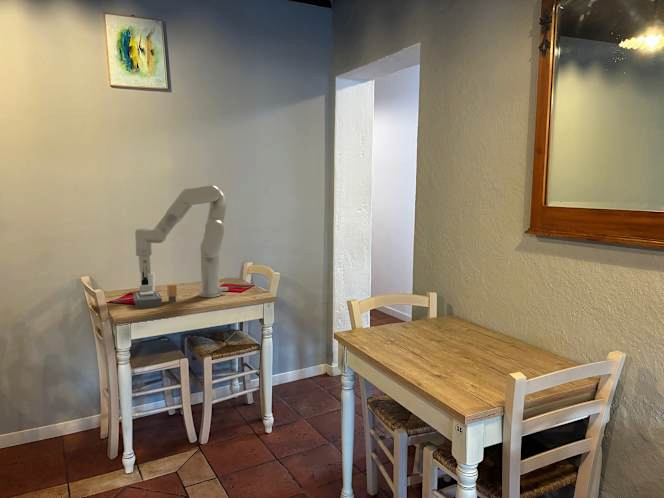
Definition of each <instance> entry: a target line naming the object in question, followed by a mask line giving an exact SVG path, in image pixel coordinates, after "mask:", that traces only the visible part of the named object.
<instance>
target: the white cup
mask: <svg viewBox="0 0 664 498" xmlns="http://www.w3.org/2000/svg"><path fill="white" fill-rule="evenodd" d="M139 276H140V277H139V278H140V280H141V279H142V275H141V273H140V272H139ZM141 285H142V283H141V282H140V286H141ZM148 285H152V290H153V291H156V290H155V289H156V288H155V287H156V272H155V271H151V274H148Z"/></svg>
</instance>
